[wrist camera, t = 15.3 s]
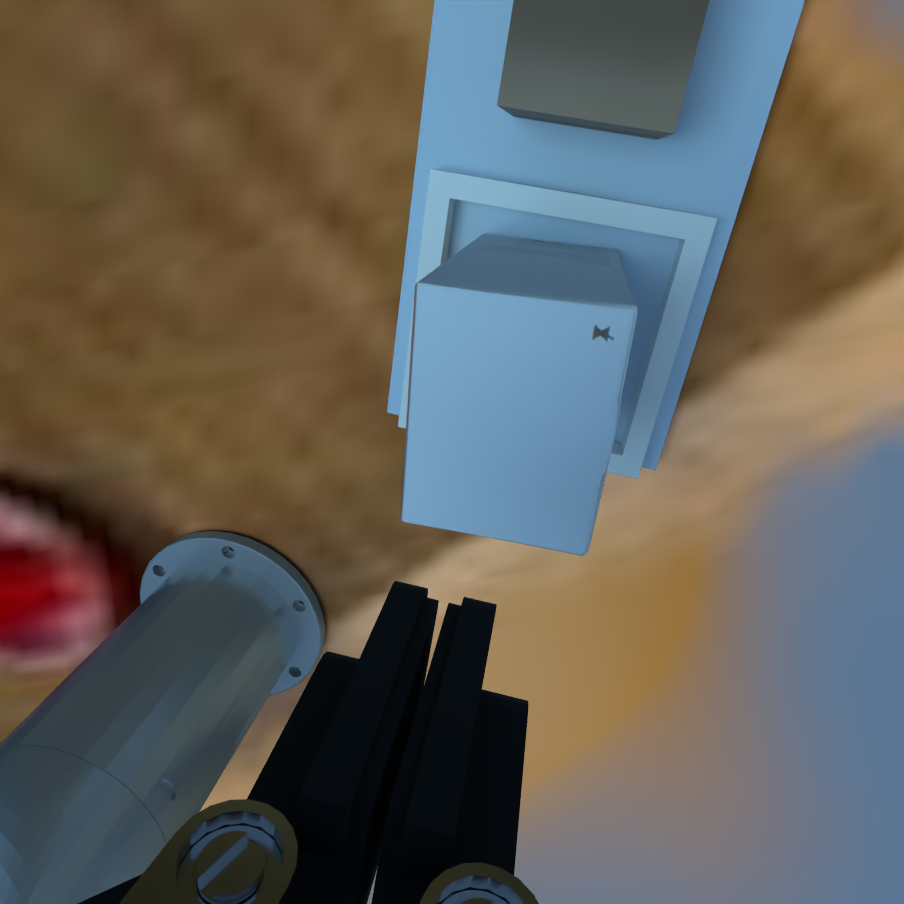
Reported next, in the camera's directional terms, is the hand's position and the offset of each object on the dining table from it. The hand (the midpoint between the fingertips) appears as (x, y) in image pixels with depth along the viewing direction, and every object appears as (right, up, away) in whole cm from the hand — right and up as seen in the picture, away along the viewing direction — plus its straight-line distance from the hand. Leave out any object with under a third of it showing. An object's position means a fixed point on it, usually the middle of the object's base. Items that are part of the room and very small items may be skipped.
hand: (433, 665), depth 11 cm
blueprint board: (+6, +14, +20) cm, 25 cm away
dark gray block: (+6, +20, +16) cm, 26 cm away
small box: (+4, +9, +21) cm, 23 cm away
